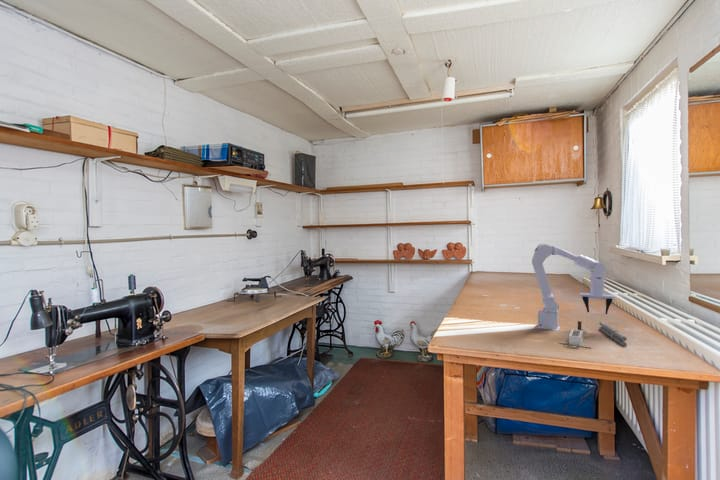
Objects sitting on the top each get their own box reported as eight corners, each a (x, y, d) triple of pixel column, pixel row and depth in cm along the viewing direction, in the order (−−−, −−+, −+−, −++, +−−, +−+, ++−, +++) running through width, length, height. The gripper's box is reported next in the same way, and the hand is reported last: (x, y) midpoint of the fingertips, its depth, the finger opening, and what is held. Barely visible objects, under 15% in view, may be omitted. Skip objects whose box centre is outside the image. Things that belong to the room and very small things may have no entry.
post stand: (567, 337, 172) (567, 325, 172) (571, 329, 185) (571, 318, 185) (587, 340, 168) (587, 328, 168) (589, 331, 181) (589, 320, 181)
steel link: (568, 344, 161) (568, 335, 161) (571, 337, 171) (571, 329, 170) (580, 346, 158) (580, 337, 158) (582, 339, 168) (582, 330, 168)
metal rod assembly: (598, 330, 183) (598, 320, 182) (604, 330, 182) (604, 321, 182) (621, 347, 158) (621, 336, 157) (628, 347, 157) (628, 336, 157)
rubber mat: (559, 344, 163) (559, 343, 163) (562, 337, 173) (562, 336, 173) (590, 348, 156) (590, 347, 156) (592, 341, 166) (592, 340, 166)
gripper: (579, 285, 181) (579, 312, 181) (614, 288, 172) (614, 316, 173) (580, 283, 187) (580, 309, 187) (615, 286, 178) (614, 313, 179)
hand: (597, 312), depth 180 cm, fingers open, 7 cm apart
